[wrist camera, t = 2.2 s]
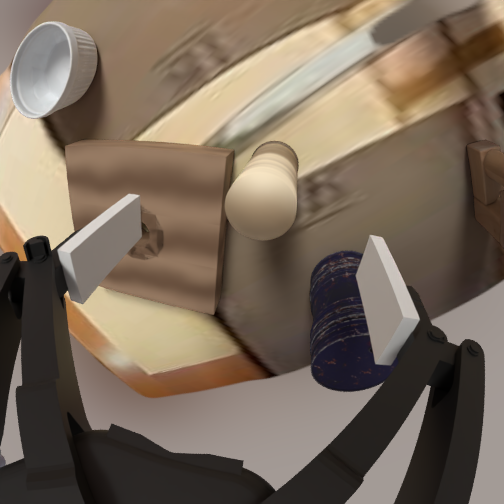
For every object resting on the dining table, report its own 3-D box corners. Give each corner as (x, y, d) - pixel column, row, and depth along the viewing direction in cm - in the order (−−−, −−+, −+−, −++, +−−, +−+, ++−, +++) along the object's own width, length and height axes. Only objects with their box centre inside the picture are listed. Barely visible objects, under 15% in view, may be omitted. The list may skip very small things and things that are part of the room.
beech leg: (259, 132, 31) (226, 166, 18) (301, 139, 31) (304, 179, 17) (253, 172, 34) (220, 234, 20) (294, 179, 33) (290, 247, 20)
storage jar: (355, 315, 42) (366, 398, 30) (297, 294, 42) (293, 380, 29) (391, 265, 37) (422, 347, 24) (330, 238, 36) (343, 320, 24)
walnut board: (82, 139, 34) (64, 146, 30) (234, 149, 33) (226, 157, 29) (97, 268, 45) (85, 281, 42) (220, 297, 44) (213, 315, 41)
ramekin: (41, 114, 32) (9, 124, 26) (44, 36, 25) (12, 37, 20) (103, 107, 31) (70, 114, 25) (110, 16, 24) (78, 8, 19)
